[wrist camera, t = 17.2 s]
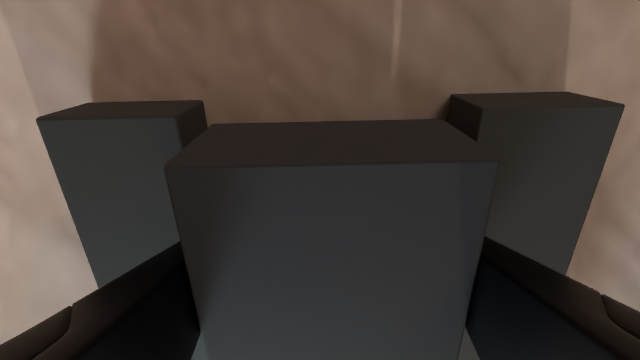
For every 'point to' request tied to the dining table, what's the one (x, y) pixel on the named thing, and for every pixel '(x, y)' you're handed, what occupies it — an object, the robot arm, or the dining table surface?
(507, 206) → the base pad
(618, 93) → the dining table surface
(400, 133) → the small pad
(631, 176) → the dining table surface
